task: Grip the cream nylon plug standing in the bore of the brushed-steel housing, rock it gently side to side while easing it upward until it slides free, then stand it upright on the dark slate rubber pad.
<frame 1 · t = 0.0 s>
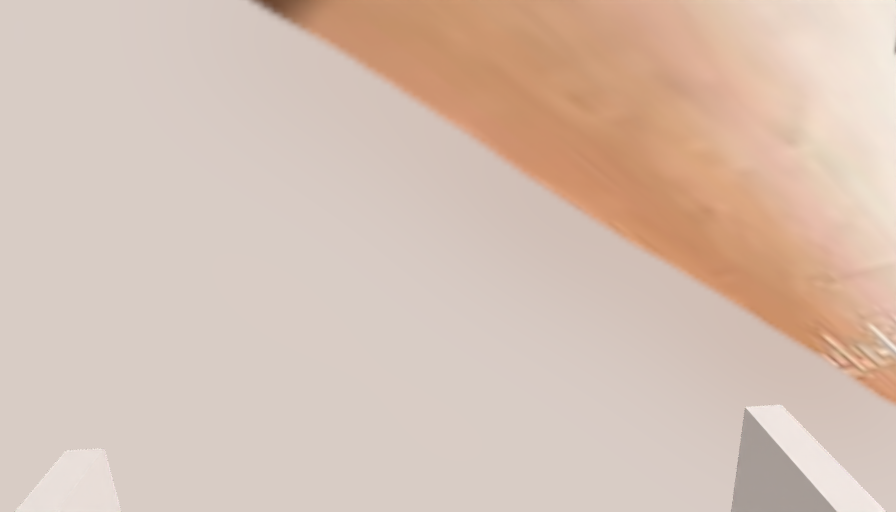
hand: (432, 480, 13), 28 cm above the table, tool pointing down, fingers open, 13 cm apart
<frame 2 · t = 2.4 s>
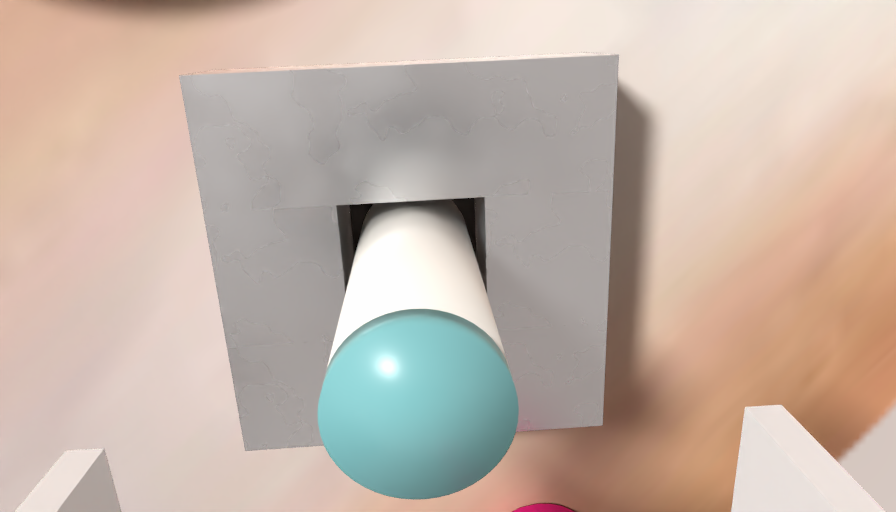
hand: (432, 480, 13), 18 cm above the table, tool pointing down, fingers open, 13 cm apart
housing: (414, 237, 30), on the table
plug: (416, 299, 23), in the housing
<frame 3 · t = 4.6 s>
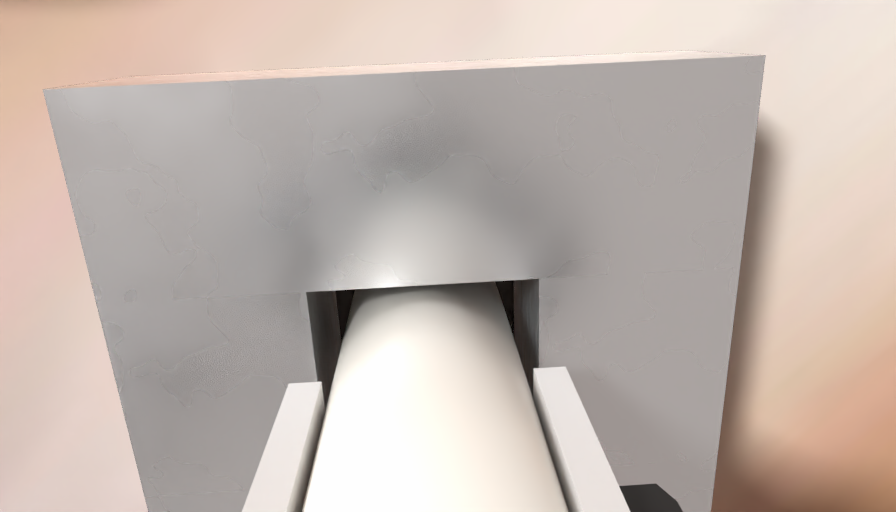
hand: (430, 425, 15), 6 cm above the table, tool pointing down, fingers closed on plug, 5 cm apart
housing: (426, 315, 21), on the table
plug: (432, 459, 14), in the housing, touching gripper
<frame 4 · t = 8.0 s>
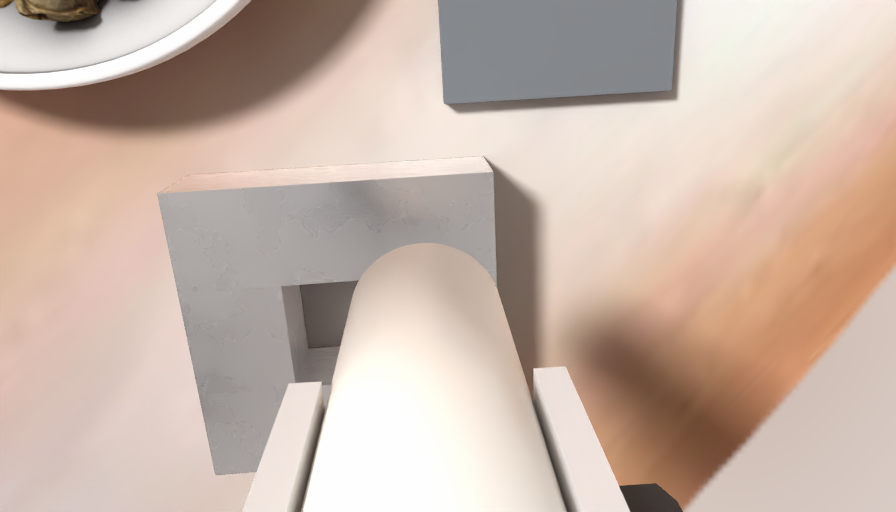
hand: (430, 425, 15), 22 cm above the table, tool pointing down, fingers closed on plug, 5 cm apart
housing: (352, 300, 37), on the table
plug: (431, 458, 14), point 23 cm above the table, touching gripper
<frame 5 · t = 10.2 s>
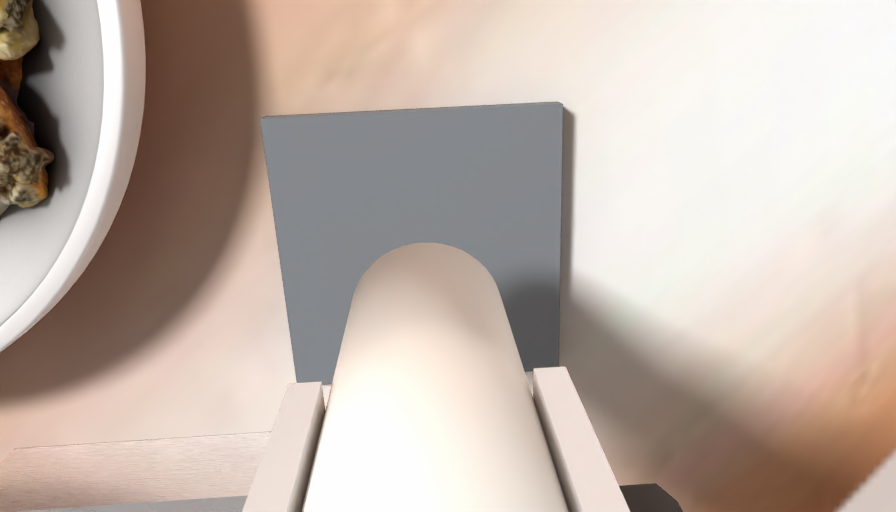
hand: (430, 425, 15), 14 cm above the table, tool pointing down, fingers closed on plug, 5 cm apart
plug: (432, 458, 14), point 15 cm above the table, touching gripper
pad: (421, 247, 28), on the table
when the fingers open (9 cm above the table, at t = 11.8 s): plug drops 1 cm, resting on pad.
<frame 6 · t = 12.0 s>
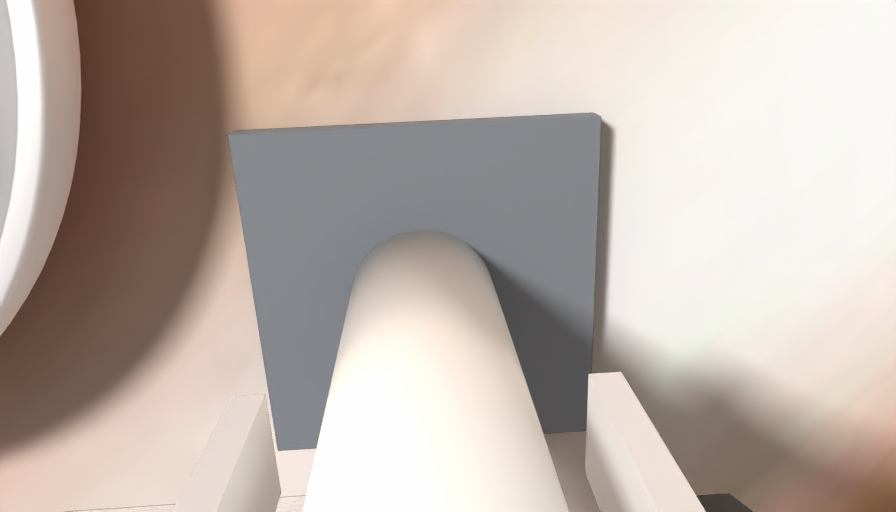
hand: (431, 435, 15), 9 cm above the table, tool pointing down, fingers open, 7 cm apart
plug: (429, 421, 15), on the pad, point 8 cm above the table
pad: (425, 286, 23), on the table
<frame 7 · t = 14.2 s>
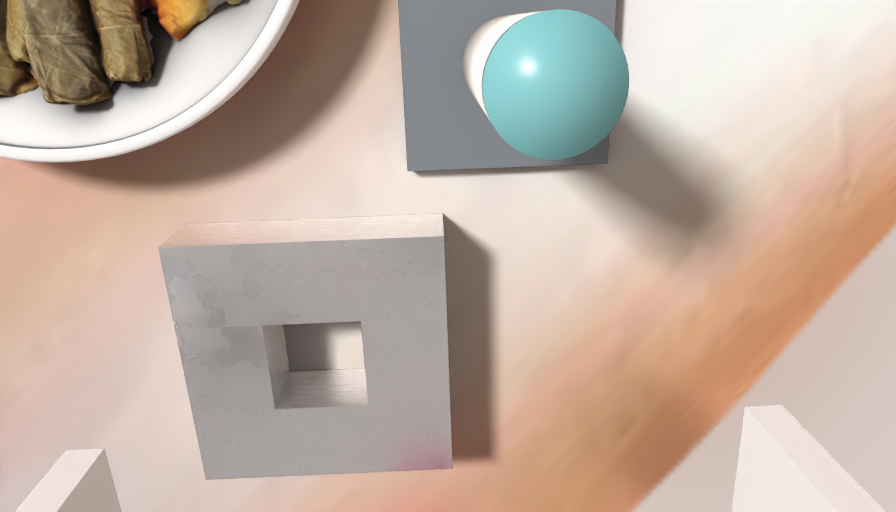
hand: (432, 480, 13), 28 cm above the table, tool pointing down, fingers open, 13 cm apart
housing: (327, 332, 42), on the table
plug: (524, 72, 29), on the pad, point 8 cm above the table
pad: (505, 61, 37), on the table
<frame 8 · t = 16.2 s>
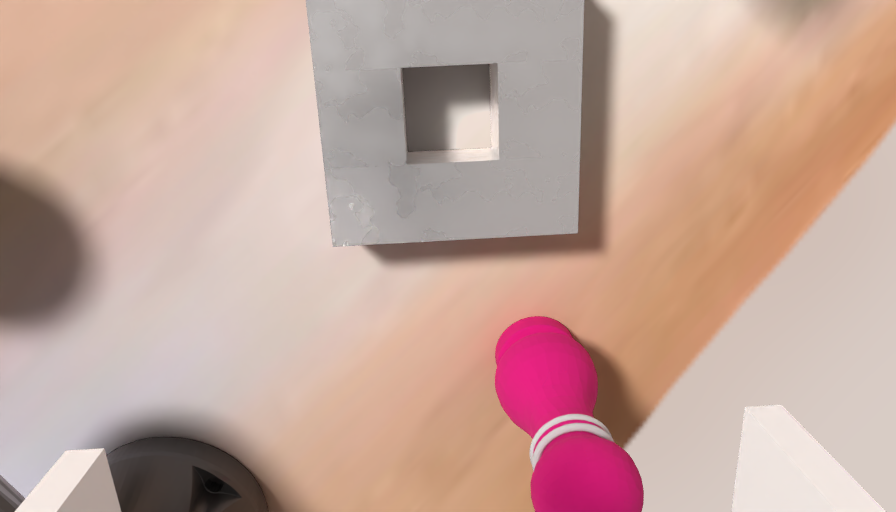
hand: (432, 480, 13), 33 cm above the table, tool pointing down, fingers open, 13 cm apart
housing: (447, 107, 43), on the table
pepper mill: (534, 350, 49), on the table
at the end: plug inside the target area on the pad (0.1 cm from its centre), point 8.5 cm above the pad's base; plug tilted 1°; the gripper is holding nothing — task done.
